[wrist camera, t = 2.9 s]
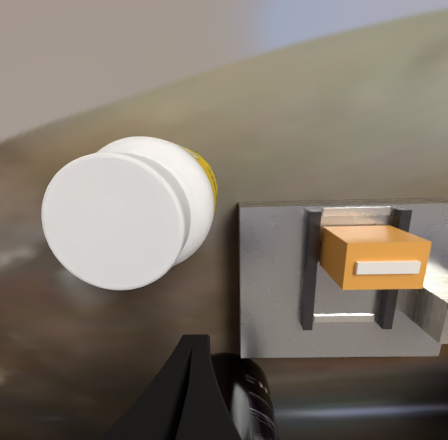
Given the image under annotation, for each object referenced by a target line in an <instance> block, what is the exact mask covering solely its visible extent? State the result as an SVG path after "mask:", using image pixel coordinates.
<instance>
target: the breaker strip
mask: <svg viewBox="0 0 448 440" xmlns="http://www.w3.org/2000/svg"><path fill="white" fill-rule="evenodd" d="M381 225H390V226H392V227H395V228H398V229H400V230H403V231H405V232H408V233H410V234H413V235H416V236H418V237H421V238H423V239H426V240H429V241H431V242H432V244H431V249H430V254H429V259H428V264H427V268H426V273H425V278H424V283H423V288H422V289H374V290H342V289H341V288H340V287H339V286H338V284H337V283H336V282H335V281H334V280H333V279H332V278H331V277H330V276H329V275H328V273H327V272H326V271H325V270H324V269H323V268H322V267H321V266H320V254H321V241H322V229H323V227H329V226H381ZM238 231H239V339H240V353H241V358H293V357H391V356H439V352H440V348H441V344H448V198H403V199H355V200H308V201H260V202H238Z"/></svg>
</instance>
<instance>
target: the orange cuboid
mask: <svg viewBox="0 0 448 440" xmlns="http://www.w3.org/2000/svg"><path fill="white" fill-rule="evenodd" d="M431 244H432V242H431V241H429V240H426V239H423V238H421V237H418V236H416V235H413V234H410V233H408V232H405V231H403V230H400V229H398V228H395V227H392V226H390V225H381V226H329V227H323V229H322V241H321V254H320V266H321V267H322V268H323V269H324V270H325V271H326V272H327V273H328V275H329V276H330V277H331V278H332V279H333V280H334V281H335V282H336V283H337V284H338V286H339V287H340V288H341V289H342V290H374V289H422V288H423V283H424V278H425V273H426V268H427V264H428V259H429V254H430V249H431Z"/></svg>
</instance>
